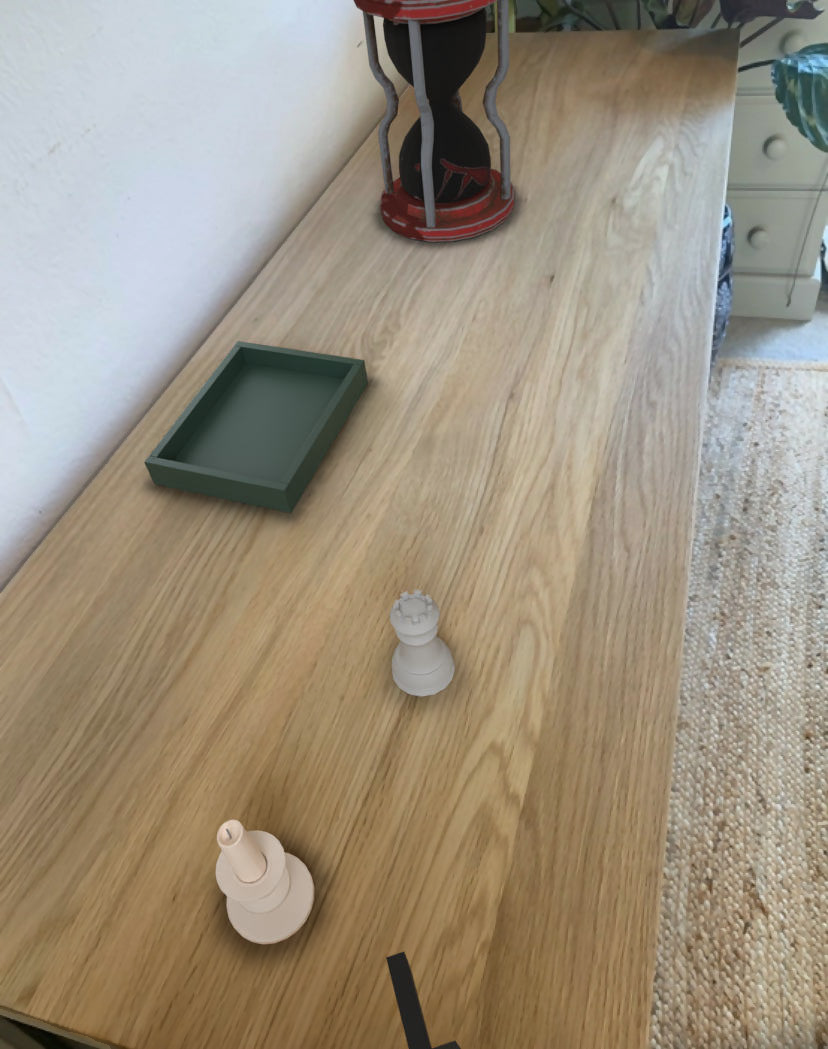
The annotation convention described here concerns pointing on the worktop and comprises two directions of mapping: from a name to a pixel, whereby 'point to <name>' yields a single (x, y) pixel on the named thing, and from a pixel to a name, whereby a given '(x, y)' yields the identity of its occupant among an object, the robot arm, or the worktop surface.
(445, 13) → the hourglass
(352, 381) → the tray
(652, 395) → the worktop surface
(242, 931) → the candle
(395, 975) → the robot arm
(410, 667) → the rook chess piece
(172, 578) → the worktop surface
